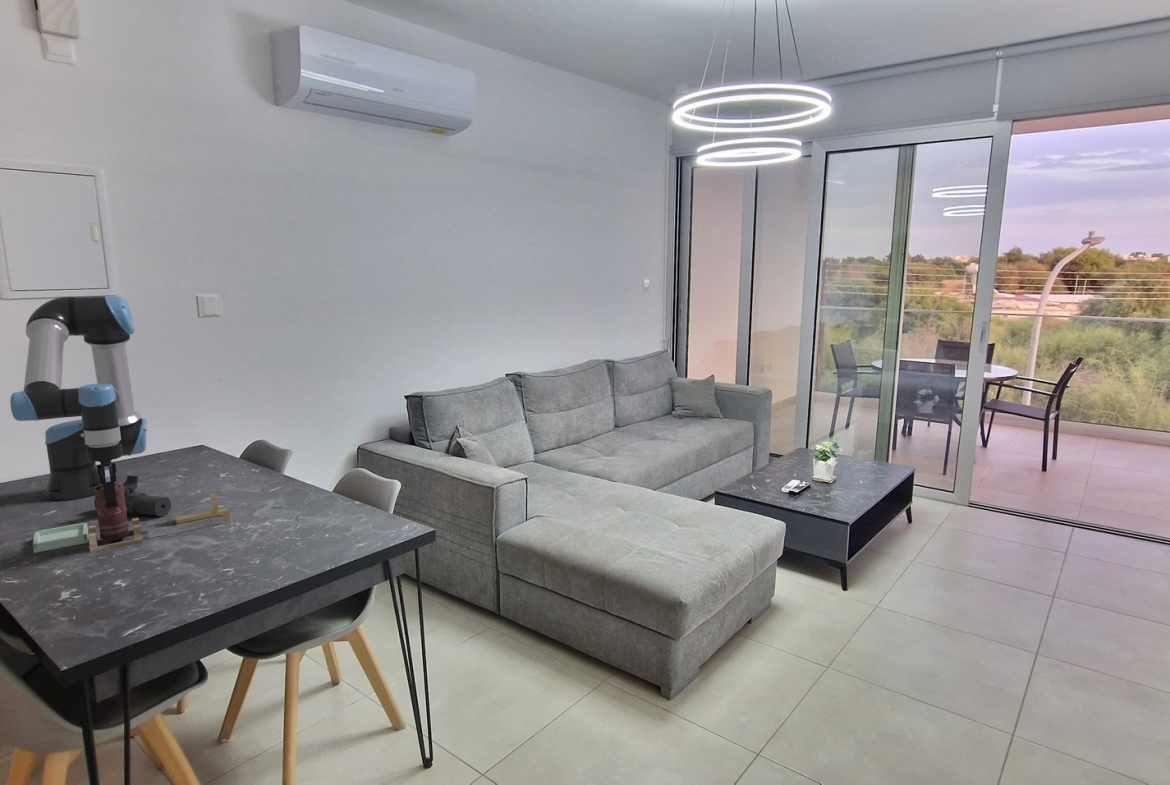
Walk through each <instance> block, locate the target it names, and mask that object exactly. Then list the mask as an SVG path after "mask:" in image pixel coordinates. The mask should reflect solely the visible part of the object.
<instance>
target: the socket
mask: <svg viewBox="0 0 1170 785" xmlns="http://www.w3.org/2000/svg"><path fill="white" fill-rule="evenodd" d="M131 524H132V529H129V534H133V536H134V539H130V540H129V539H128V540H124V541H118V542H115V543H108V544H104V545H98V540H102V539H101V537H100V534H99V535H98V534H97V529H96V528H97V527H96V525H90V526H88V543H89V544H88V545H89V552H90V553H92V552H98V551H102V550H107V549H113V548H117V547H124V546H127V545H132V544H138V543H142V542H143V539H142V530H141V524H140V519H139V517H135V518H131Z"/></svg>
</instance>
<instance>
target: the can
mask: <svg viewBox="0 0 1170 785" xmlns="http://www.w3.org/2000/svg"><path fill="white" fill-rule="evenodd" d="M114 484H115V491H116V499H117V503H118V506H117V507H111V508H106V507H105V505H106V504H105V497H104V490H103V486H100V487H97V488H96V490H95V494H94V501H95V500H96V507H97V509H96V512H97V514H96V515H97V521H98V530H99V535H100V537H101V539H100V540H102V541H103V542H112V541H113V542H114V541H119V540H122V539H124V538H126V537H128V535H130V533H129V530H130V528H129V522H128V516H127V513H126V505H125V498H124V487H123V484H122V483H114Z"/></svg>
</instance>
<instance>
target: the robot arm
mask: <svg viewBox="0 0 1170 785" xmlns="http://www.w3.org/2000/svg"><path fill="white" fill-rule="evenodd" d="M25 334H26V336H27V338H28V339H29V341H28V349H27V359H26V367H25V376H24V384H23V390H21V391H18V392H13V393H12V394H11V395H10V397H9V398H10V399H9V400H10V401H9V404H10V411H11V414H12V416H13V419H14V420H16V421H17V422H23V421H24V422H25V421H28V422H29V421H34V422H35V421H36V422H38V421H42V420H54V419H63V418H77V417H80V418H81V419H75V420H69V421H65V422H60V423H57V424H54V425H51V426H49V427H48V428H47V429H46V430H45V433H44V434H45V441H44V444H45V445H46V450H47V451H46V452H47V460H48V464H49V466H48V467H49V472H50V473H49V478H48V482H47V486H46V489H45V494H46V499H48V500H51V501H67V500H68V501H69V500H76V499H82V498H86V497H90V496H95V490H96V488H97V487H99V486H98V485H100V484H101V485H103V490H104V497H105V504H106V505H105V507H106V508H111V507H117V506H118V503H117V499H116V491H115V484H116V482H117V476H116V475H117V474H116V473H117V466H116V462H112V461H113V460H116V459H119V458H121V457H124V456H125V457H126V456H133V455H139V454H142V453H144V452H145V451H146V448H147V429H148V428H147V425H148V423H147V422H148V420H147V419H146V418H143V417H142V416H141V413H140V412H138V411H136V410H135V405H134V404H135V403H134V398H133V391H132V384H131V377H130V369H129V364H128V363H129V362H128V357H127V356H128V354H127V349H126V344H127V343H128V342H129V341H130V340H131V336H130V335H132V334H133V335H134V334H135V325H134V320H133V316H132V313H131V309H130V306H129V303H128V302H127V300H126V299H125V298H124V297H121V296H109V295H104V296H103V295H102V296H101V295H99V296H98V295H97V296H60V297H56V298H53V299H50V300H48V301H47V302H46V301H45V302H44V303H42V304H41V305H40V306H39V307H37V308H36V309H35V310H34V311H33V312H32V313H31V315H30V316H29V318H28V320H27V322H26V326H25ZM69 336H71V337H73V336H74V337H76V336H77V337H79V336H80V337H81V336H83V341H84V343H86V344H87V345H89V346H90V347H91V353H92V359H93V364H94V373H95V378H96V383H90V384H85V385H82V386H80V387H74V388H62V379H63V378H62V377H63V364H64V345H65V342H66V341H67V340H68V338H69ZM96 462H97V463H100V464H98V465H97V464H96Z"/></svg>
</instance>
